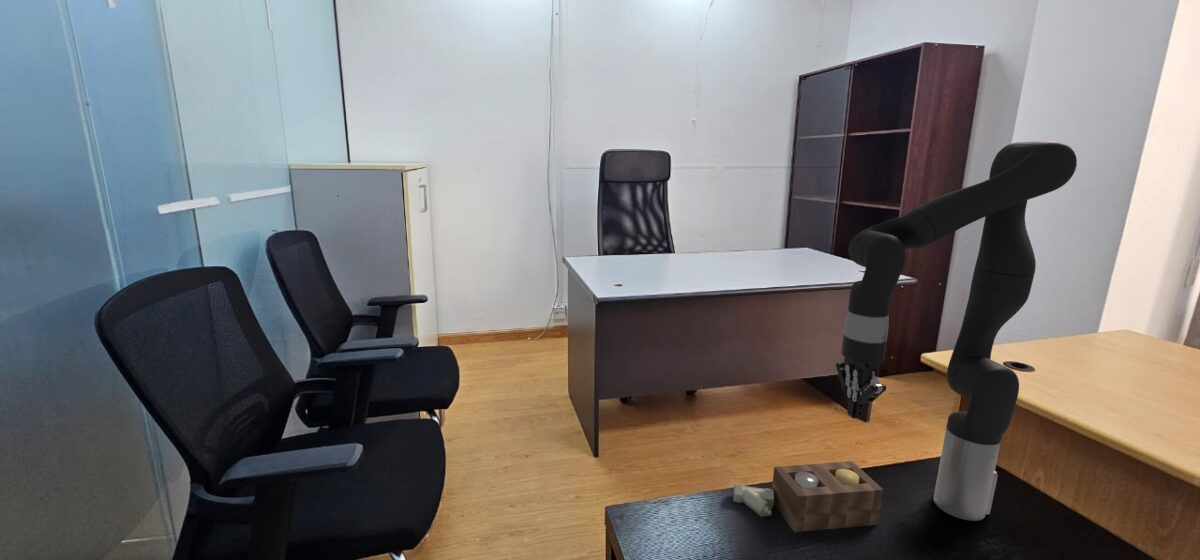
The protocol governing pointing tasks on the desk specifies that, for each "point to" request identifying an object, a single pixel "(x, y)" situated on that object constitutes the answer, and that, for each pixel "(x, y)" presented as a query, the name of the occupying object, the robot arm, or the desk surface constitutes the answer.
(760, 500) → the pipe fitting
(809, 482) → the steel peg
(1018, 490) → the desk surface
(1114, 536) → the desk surface
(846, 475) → the mustard peg
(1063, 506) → the desk surface
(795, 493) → the socket block
